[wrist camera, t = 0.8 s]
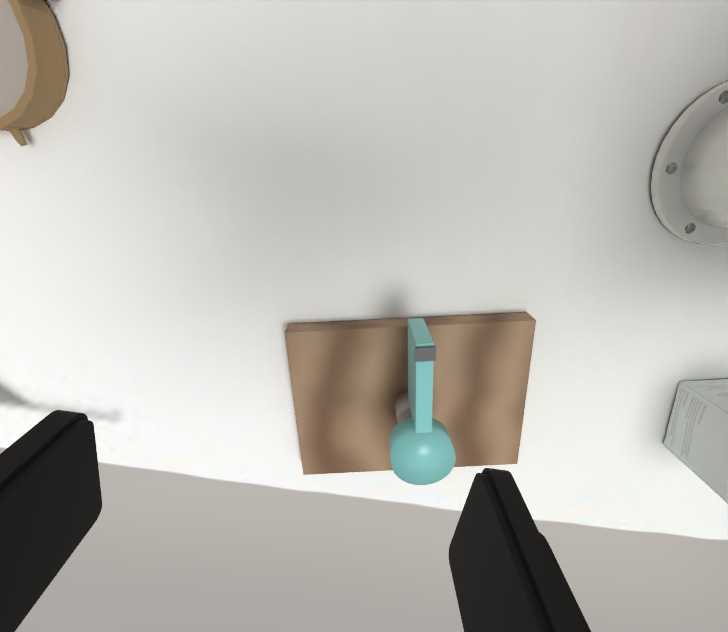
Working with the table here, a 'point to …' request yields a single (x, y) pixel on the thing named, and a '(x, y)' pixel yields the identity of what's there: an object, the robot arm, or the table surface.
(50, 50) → the alarm clock
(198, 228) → the table surface
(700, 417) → the skincare box
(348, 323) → the post block
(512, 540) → the robot arm
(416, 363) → the teal lever handle
